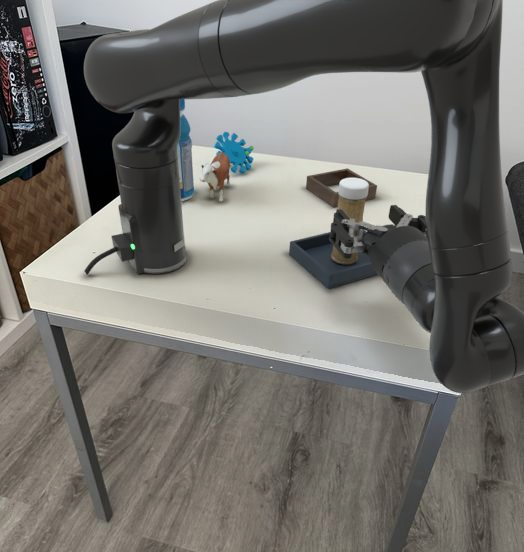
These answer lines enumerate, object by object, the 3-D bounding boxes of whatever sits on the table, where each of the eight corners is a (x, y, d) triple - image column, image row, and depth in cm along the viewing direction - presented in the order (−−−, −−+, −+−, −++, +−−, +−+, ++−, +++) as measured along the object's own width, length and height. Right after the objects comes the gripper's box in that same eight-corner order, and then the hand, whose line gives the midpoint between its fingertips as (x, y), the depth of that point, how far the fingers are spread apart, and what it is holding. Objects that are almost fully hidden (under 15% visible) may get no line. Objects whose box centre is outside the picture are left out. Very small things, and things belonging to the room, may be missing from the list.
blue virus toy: (229, 173, 114) (210, 131, 114) (215, 186, 119) (197, 146, 119) (264, 167, 121) (247, 128, 121) (250, 180, 126) (233, 142, 126)
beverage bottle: (202, 197, 108) (196, 93, 95) (165, 206, 104) (154, 99, 91) (183, 184, 113) (175, 83, 101) (147, 192, 110) (134, 88, 97)
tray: (328, 288, 82) (329, 275, 81) (289, 254, 91) (289, 241, 89) (398, 268, 88) (401, 255, 86) (355, 237, 96) (357, 225, 94)
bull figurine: (197, 207, 104) (195, 167, 99) (216, 182, 114) (215, 144, 109) (219, 210, 104) (217, 169, 98) (236, 184, 114) (235, 146, 109)
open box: (333, 207, 106) (334, 194, 104) (305, 188, 113) (306, 175, 111) (375, 198, 110) (377, 185, 108) (346, 180, 117) (347, 168, 115)
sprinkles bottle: (362, 261, 88) (375, 184, 80) (342, 268, 86) (352, 190, 78) (345, 250, 91) (355, 174, 83) (324, 256, 89) (333, 179, 81)
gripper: (472, 236, 65) (413, 185, 77) (364, 246, 62) (321, 191, 74) (456, 287, 69) (403, 231, 81) (355, 299, 67) (316, 239, 79)
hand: (364, 212), depth 78 cm, fingers open, 8 cm apart
